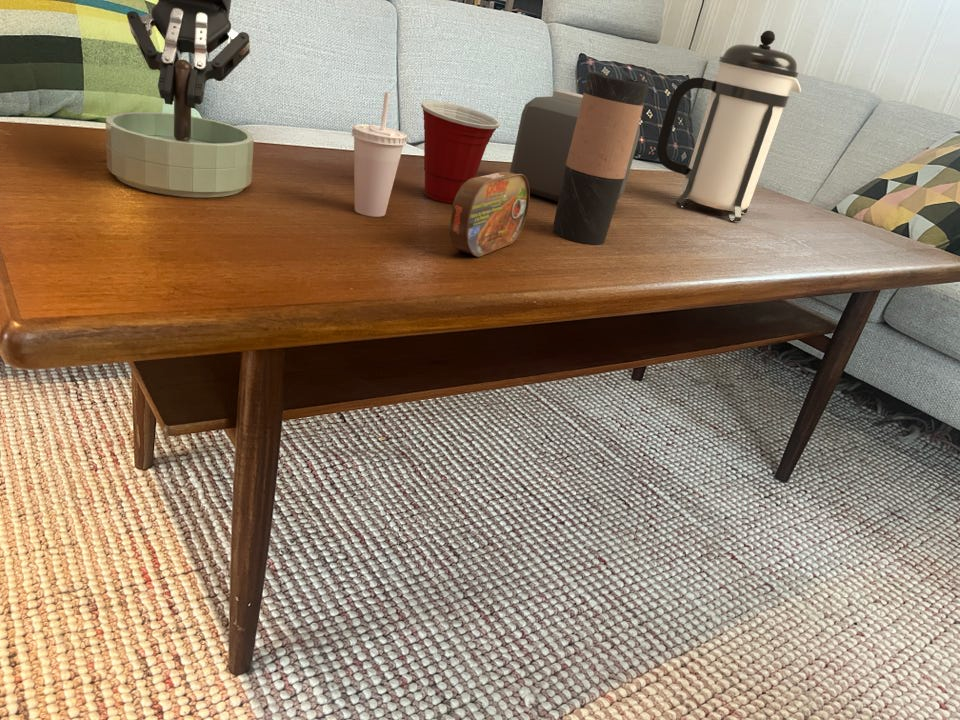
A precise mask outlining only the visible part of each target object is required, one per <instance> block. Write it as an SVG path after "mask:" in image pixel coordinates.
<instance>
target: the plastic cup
mask: <svg viewBox="0 0 960 720" xmlns="http://www.w3.org/2000/svg"><path fill="white" fill-rule="evenodd" d="M420 105H421V107H420V108H421V109H422V114H423V129H424V134H423V135H424V138H423V139H424V140H423V141H424V142H423V144H424V146H423V147H424V148H423V170H424V190H425V191H424V192H425V194H424V195H425V196H426V197H427V198H429V199H431V200H433V201H437V202H441V203H446V204H452V205H453V202H454V199H455V197H456V194H457V192H458V191H459V189H460V188H461V186H462V185H463V184H464V183H465V182H466V181H467V180H469V179H471V178H475V177H477V173H478V170H479V167H480V164H481V162H482V160H483V157H484V154H485V152H486V149H487V145H489V142H490V140H491V138H492V136H493V134H494V133H495V131H496V129H499V127H500V124H501V122H500V121H499V120H498V119H497V118H495V117H493V116H491V115H488V114H487V113H484V112H483V111H482V112H481V111H479V110H475V109H473V108H470V107H467V106H462V105H458V104H454V103H449V102H445V101H438V100H423V101H422V102H421V104H420Z"/></svg>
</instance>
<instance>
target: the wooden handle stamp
mask: <svg viewBox="0 0 960 720" xmlns="http://www.w3.org/2000/svg"><path fill="white" fill-rule="evenodd" d="M191 69H193V67H192V64H191V63H190V62H189V61H188V60H187V59H183V58H181V60H178V61H177V62H176V63H175V65H174V99H173V114H174V137H162V138H163V139H168V140H177V141H185V142H194V143H203V142H200V141H197V140H193V139H190V138H191V116H192V108H189V107H188V102H187V91H188V85H189V78H190V72H191Z"/></svg>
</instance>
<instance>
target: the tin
mask: <svg viewBox="0 0 960 720" xmlns="http://www.w3.org/2000/svg"><path fill="white" fill-rule="evenodd" d="M530 195H531V194H530V190H529V184H528V181H527V179H526V177H525V176H524V175H522V174H514V173H510V171H497V172H493V173H490V174H485V175H480V176H475V178H471V179H469V180H467V181H466V182H465V183H464V184H463V185H462V186H461V188H460V189H459V191H458V192H457V194H456V197H455V199H454V202H453V204H452V209H451V210H452V211H451V216H450V227H449V238H450V242H451V244H452V246H453V247H454V248H455V249H456V250H457V251H459V252H462V253H466V254H469V255H472V256H474V257H476V258H481V257H483V256H485V255H488V254H490V253H494V252H495V251H498V250H500V249H503V248H505V247H507V246H510V245H512V244H513V243H514V242H516V240H517V239H518V237H519V236H520V234H521V232H522V230H523V228H524V225H525V223H526V220H527V215H528V212H529V208H530V207H529V206H530V197H531V196H530Z"/></svg>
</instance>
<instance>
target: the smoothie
mask: <svg viewBox="0 0 960 720" xmlns="http://www.w3.org/2000/svg"><path fill="white" fill-rule="evenodd" d="M390 97H391V92H389V91H384V97H383V105H382V111H381V112H382V113H381V121H380V125H374V124H363V123H359V124H358V123H357V124H354V125H352V131H351V133H350V134H351V136H352V137H353V163H354V164H353V166H354V167H353V170H354V171H353V174H354V175H353V177H354V179H353V180H354V182H353V183H354V184H353V185H354V190H353V191H354V212H356V213H357V214H359V215H362V216H366V217H373V218H374V217H375V218H377V217H378V218H381V217H384V216H386V213H387V210H388V205H389V202H390V198H391V194H392V190H393V186H394V182H395V179H396V176H397V171H398V168H399V164H400V160H401V157H402V152H403V149H404V146H406V145H407V140H408V135H407V133H405V132H403V131H401V130H398V129H394V128H391V127H386V126H387V118H388V111H389V103H390Z"/></svg>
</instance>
